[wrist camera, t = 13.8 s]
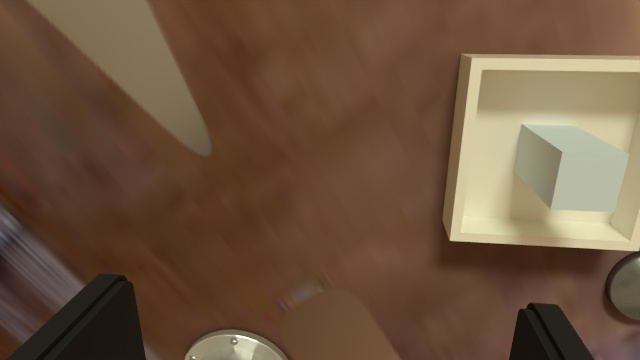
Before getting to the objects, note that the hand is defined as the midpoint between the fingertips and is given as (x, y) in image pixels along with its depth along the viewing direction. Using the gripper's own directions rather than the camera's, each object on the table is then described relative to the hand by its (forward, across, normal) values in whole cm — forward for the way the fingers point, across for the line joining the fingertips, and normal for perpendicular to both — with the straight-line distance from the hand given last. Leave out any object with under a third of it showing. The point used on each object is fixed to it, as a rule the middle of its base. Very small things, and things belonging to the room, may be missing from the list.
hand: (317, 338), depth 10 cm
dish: (+28, -16, +2) cm, 32 cm away
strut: (+28, -15, +3) cm, 32 cm away
